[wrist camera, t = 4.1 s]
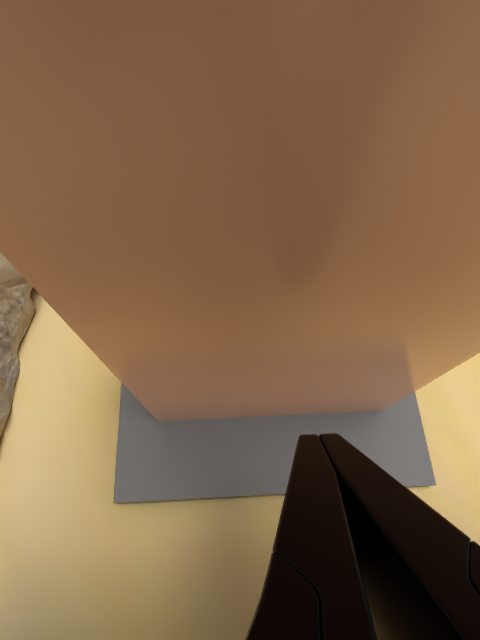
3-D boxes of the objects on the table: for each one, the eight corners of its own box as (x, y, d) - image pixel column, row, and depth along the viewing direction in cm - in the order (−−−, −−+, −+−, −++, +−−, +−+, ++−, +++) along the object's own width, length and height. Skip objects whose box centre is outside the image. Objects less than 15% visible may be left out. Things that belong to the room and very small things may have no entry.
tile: (382, 410, 16) (1147, -48, 3) (158, 421, 16) (-269, -40, 2) (371, 353, 17) (891, -194, 4) (159, 363, 17) (-137, -202, 3)
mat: (430, 485, 16) (436, 485, 15) (117, 503, 15) (113, 503, 15) (348, 117, 24) (350, 110, 23) (141, 122, 23) (139, 114, 23)
